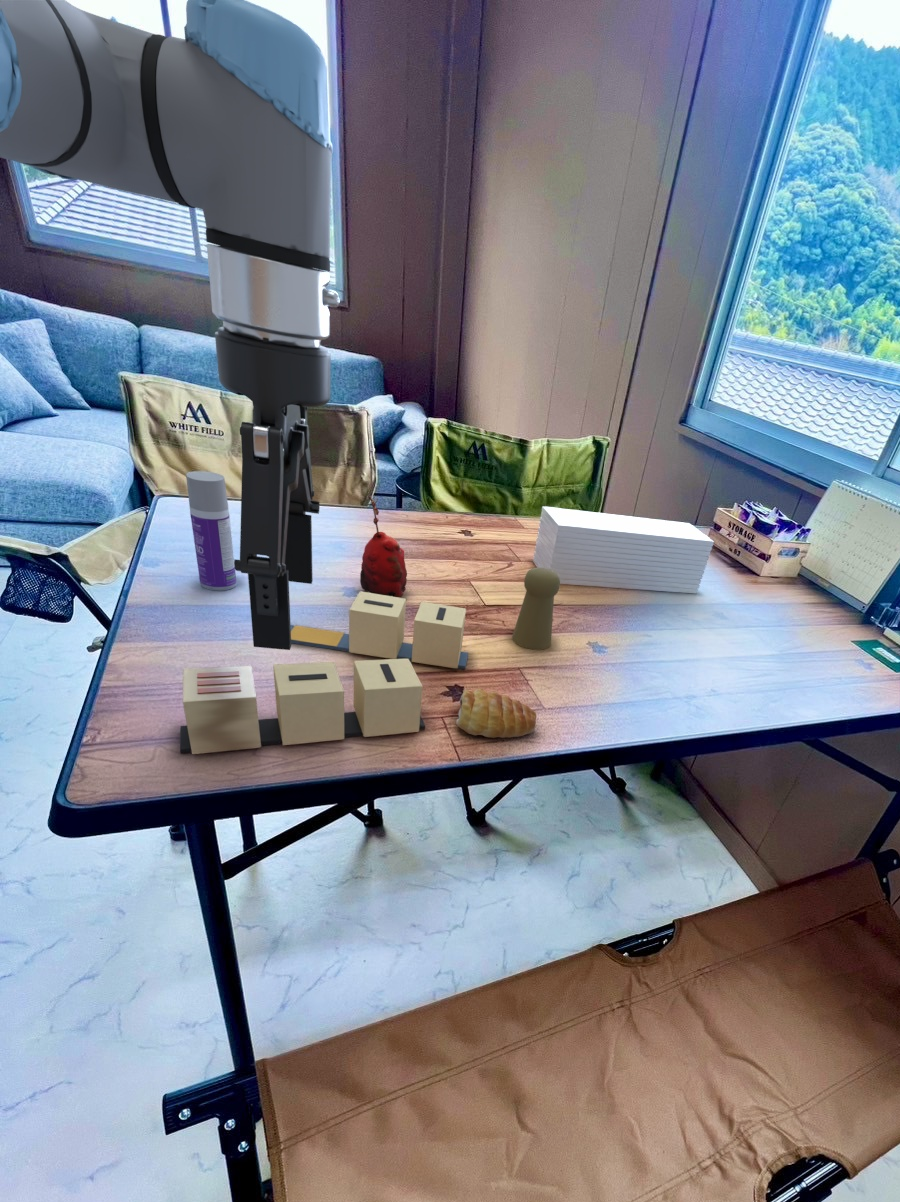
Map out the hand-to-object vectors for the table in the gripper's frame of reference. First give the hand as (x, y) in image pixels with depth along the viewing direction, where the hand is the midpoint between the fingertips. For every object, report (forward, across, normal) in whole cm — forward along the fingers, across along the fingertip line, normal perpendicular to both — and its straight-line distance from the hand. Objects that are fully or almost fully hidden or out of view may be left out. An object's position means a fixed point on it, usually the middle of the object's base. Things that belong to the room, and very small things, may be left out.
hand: (286, 610), depth 56 cm
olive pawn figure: (+15, +29, -30) cm, 44 cm away
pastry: (+15, +6, -21) cm, 26 cm away
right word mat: (+15, +22, -8) cm, 28 cm away
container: (+15, +38, +15) cm, 43 cm away
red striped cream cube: (+14, +1, +6) cm, 16 cm away
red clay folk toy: (+15, +41, -8) cm, 45 cm away
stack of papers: (+14, +60, -52) cm, 80 cm away
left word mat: (+15, +3, -2) cm, 15 cm away
